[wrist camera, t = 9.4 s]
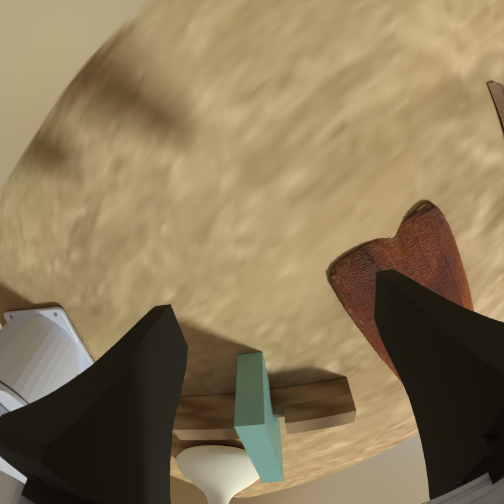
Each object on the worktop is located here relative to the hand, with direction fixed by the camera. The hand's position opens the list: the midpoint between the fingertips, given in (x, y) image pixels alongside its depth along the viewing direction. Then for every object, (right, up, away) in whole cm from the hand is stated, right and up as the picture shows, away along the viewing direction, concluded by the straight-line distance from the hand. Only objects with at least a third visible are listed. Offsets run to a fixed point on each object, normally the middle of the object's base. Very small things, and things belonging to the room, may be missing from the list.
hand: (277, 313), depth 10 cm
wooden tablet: (+16, -6, +14) cm, 22 cm away
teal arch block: (0, -11, +16) cm, 20 cm away
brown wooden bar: (0, -11, +16) cm, 20 cm away
